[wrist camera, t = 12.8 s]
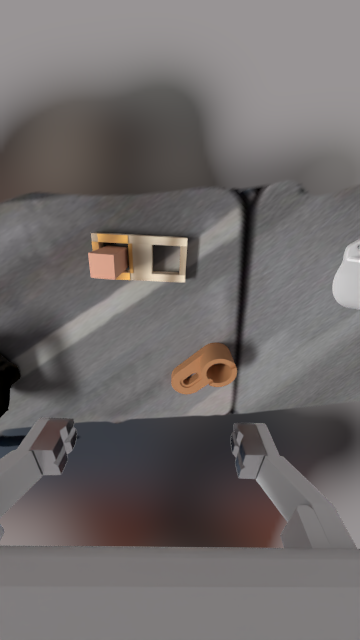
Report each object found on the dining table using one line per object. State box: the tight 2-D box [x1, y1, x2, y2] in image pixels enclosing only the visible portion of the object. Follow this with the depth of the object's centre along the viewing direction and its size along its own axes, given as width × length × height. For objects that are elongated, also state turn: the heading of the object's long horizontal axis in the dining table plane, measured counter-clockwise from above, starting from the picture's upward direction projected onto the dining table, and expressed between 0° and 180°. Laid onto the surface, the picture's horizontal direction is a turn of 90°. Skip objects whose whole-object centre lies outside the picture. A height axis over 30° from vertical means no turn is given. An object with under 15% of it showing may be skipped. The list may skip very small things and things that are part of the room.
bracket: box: [171, 343, 237, 394], centre depth 52 cm, size 18×8×7 cm, turn 133°
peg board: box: [91, 232, 188, 282], centre depth 41 cm, size 18×8×3 cm, turn 87°
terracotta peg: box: [88, 246, 128, 280], centre depth 38 cm, size 4×4×10 cm
